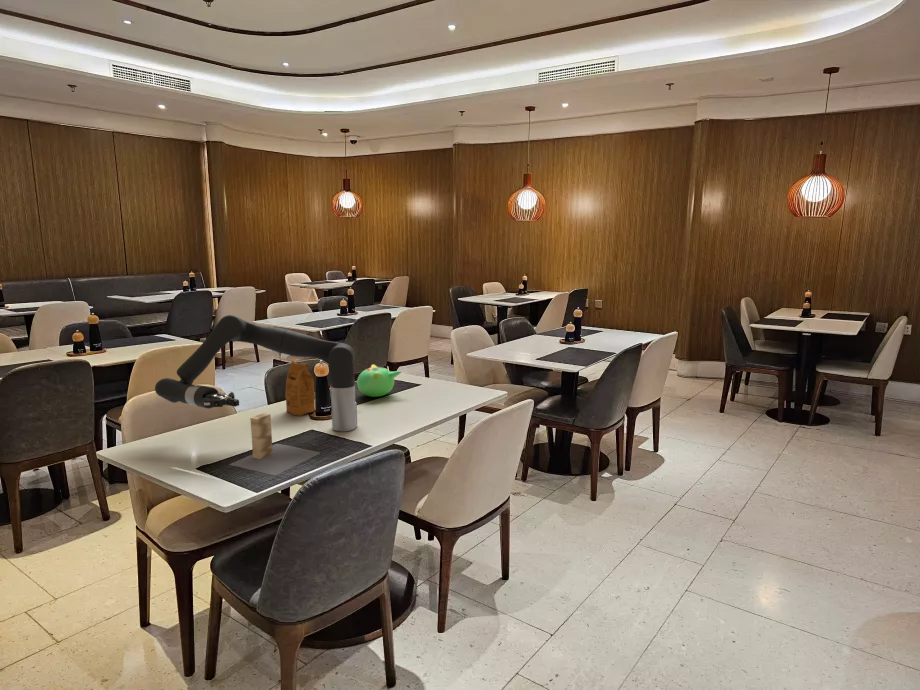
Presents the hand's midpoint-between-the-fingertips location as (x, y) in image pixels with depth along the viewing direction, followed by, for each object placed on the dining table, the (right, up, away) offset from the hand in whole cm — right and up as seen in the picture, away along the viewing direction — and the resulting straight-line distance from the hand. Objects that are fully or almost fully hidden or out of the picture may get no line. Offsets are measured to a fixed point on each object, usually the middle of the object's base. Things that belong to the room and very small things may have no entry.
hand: (237, 403), depth 197 cm
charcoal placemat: (+15, -19, -4) cm, 24 cm away
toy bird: (+37, -5, +75) cm, 84 cm away
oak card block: (+9, -18, -1) cm, 20 cm away
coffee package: (+8, -9, +50) cm, 51 cm away
